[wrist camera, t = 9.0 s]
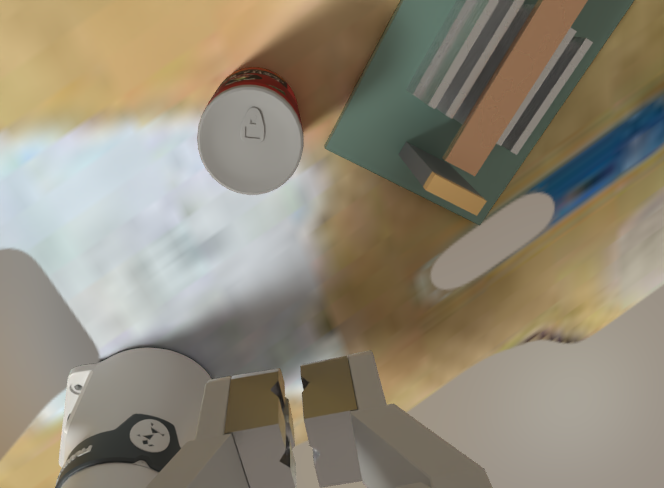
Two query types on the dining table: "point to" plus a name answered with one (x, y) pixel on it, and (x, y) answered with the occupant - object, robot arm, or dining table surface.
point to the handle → (512, 82)
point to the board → (432, 125)
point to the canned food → (251, 132)
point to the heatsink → (489, 64)
